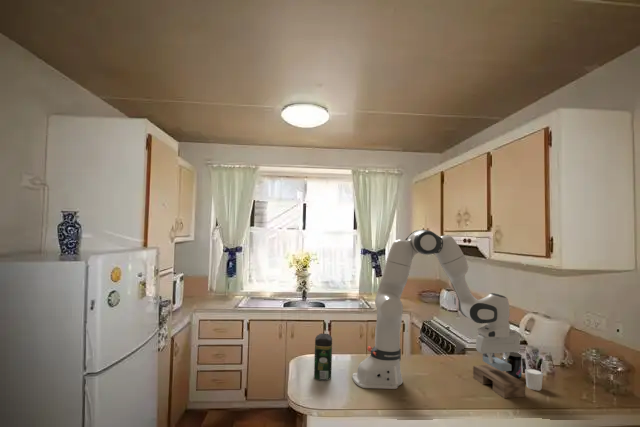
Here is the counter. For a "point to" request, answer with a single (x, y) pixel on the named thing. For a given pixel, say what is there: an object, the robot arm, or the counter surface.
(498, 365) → the blue-grey l-shaped block
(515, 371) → the supplement container
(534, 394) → the counter surface
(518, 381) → the wooden bridge block
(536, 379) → the white cylinder
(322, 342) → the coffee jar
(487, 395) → the counter surface
